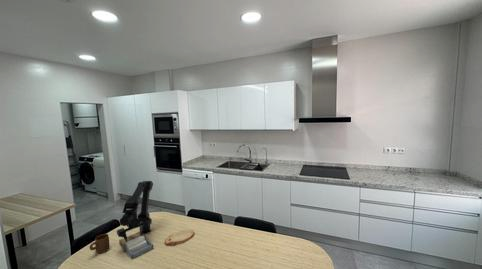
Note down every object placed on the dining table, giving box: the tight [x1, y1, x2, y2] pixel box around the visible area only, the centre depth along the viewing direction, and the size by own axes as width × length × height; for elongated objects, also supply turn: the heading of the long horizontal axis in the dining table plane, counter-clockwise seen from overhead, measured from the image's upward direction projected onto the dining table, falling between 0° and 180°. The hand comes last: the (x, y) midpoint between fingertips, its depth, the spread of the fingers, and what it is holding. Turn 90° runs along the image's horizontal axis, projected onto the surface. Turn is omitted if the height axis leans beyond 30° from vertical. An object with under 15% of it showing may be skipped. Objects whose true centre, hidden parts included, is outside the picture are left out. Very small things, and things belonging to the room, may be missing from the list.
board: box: [119, 231, 148, 252], centre depth 138 cm, size 14×12×3 cm
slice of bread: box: [164, 229, 195, 247], centre depth 142 cm, size 18×18×4 cm
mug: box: [89, 233, 110, 255], centre depth 128 cm, size 12×8×9 cm, turn 165°
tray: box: [125, 238, 155, 260], centre depth 130 cm, size 13×12×3 cm
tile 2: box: [128, 240, 147, 252], centre depth 132 cm, size 11×4×2 cm, turn 137°
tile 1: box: [126, 235, 145, 248], centre depth 133 cm, size 11×4×2 cm, turn 137°
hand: (134, 239), depth 135 cm, fingers open, 9 cm apart
